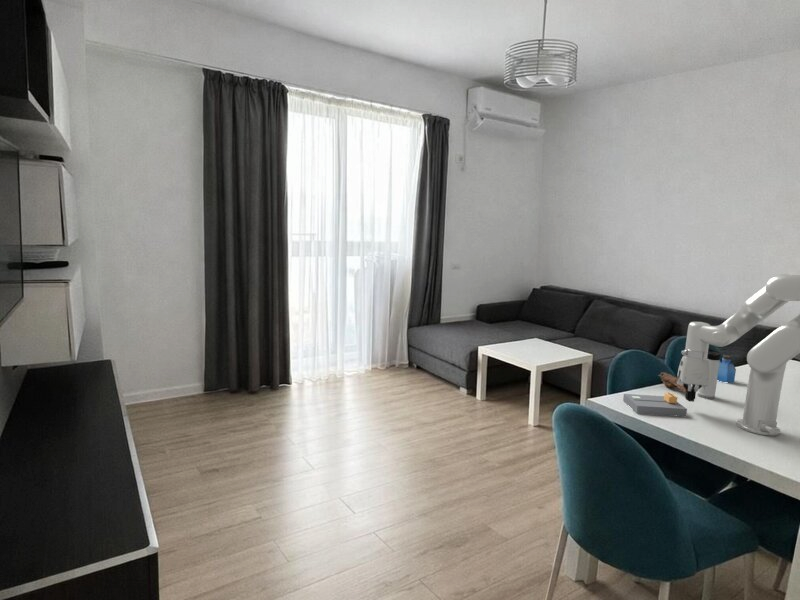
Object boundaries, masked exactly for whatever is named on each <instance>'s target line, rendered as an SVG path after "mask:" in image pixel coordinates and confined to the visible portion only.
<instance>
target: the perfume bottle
mask: <svg viewBox="0 0 800 600" xmlns="http://www.w3.org/2000/svg"><path fill="white" fill-rule="evenodd" d="M731 358H732V357H731V356H730V355H726V354H723V355H722V358H721V361H720V363H719V370H718V377H717V380H719V381H718V382H720V381H723V382H731V383H735V379H736V374H737V373H736V371H737V369H736V367H735V365H734V363H730V362H731V361H732V359H731ZM723 382H722V383H723Z"/></svg>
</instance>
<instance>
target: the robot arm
mask: <svg viewBox="0 0 800 600" xmlns="http://www.w3.org/2000/svg"><path fill="white" fill-rule="evenodd" d="M788 302H800V274H788V273H784V274H783V273H782V274H776V275H775V276H773V277H771V278H770V279H768V281H767V282H766V283H765V285H764V286H762V287H761V288H760V289H759V290H757V291H755V293H754V294H751V296H750V297H749V298H747V299H746V300H744V302H742V305H741V307H740V308H739V309H738V310H737V311H736V312H735V313H734V314H733V315H731V316H730V317H729V318H727V319H726V320H725V321H724V322H723V323H721V324H719V325H711V324H710V323H707V322H703V321H690V322H689V324H688V327H687V332H686V340H685V348H684V350H681V355H683V356H682V358H681V359H680V362H679V366H678V371H677V374H676V375H677V377H676V378H677V379H678V381H677V384H678V385H681V386H683V387H684V388H685V389H686V392H684V393H685V396H684V398H685V400H686V401H688V402H692V403H694V402H695V399H696V395H697V393H698V389H700V388H701V387H706V386H707V384H709V379H710V362H709V359H707V355H708V349H710V348H709V347H710V345H711V346H715V347H721V348H722V347H725V346H728V345H730V344H732V343H734V342H736V341H737V340H738V339H740V338H741V337H742V336H743V335H745V334H746V333H747V332H749V331H751V330H752V329H753V328H755V327H756V326H757V325H758V324H760V323H762V322H763V321H764V320H766V319H768V317H771V315H773V313H775V312H777V311H778V310H779V309H780V308H782V307H783V306H784V305H786V304H787V303H788ZM799 354H800V313H798V314H797V316H795V317H794V318H793V319H791V320H789V321H787V322H785V323H783V324H782V325H780V326H778V327H777V328H776V329H774V330H773V331H772V332H771V333H770V334H768V335H767V336H766V337H765V338H763V339H762V340H761V341H759V342H758V343H757V344H756V345H754V346H753V347H752V348H751V349H750V350H749V351H748V352H747V354H746V361H747V362H746V363H747V364H748V366H749V368H750V371H749V376H748V377H749V378H748V383H747V389H746V395H745V402H744V407H743V408H744V409H743V415H742V419H738V420H736V425H737V426H738V427H739V428H740V429H742V430H744V431H747V432H751V433H753V434H758V435H762V436H763V435H764V436H778V435H780V434H781V429H780V428H779V427H777V425H778V422H777V417H778V412H779V405H780V398H781V393H782V387H783V381H784V376H785V371H786V367H787V364H788V362H790V361H791V360H792V359H793V358H795V357H797V355H799Z"/></svg>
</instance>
